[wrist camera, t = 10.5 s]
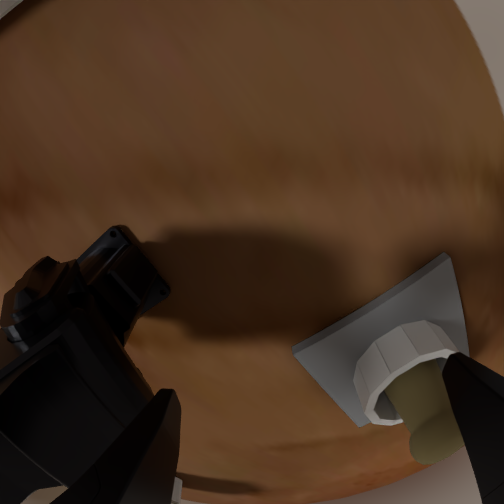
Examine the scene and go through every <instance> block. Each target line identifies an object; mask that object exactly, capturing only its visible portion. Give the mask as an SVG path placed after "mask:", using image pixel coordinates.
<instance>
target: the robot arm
mask: <svg viewBox="0 0 504 504" xmlns="http://www.w3.org/2000/svg"><path fill="white" fill-rule="evenodd" d="M112 231H115V232H116V236H114V235H113V233H112ZM161 289H164V290H165V291H166V292H162V291H161ZM170 291H171V290H170V287H169V286H168V285H167V283H166V282H165V281H164V280H163V279H162V278H161V277H160V276H159V274H158V273H157V270H156V269H155V268H154V266H153V265H152V264H151V263H150V262H149V261H148V259H147V258H146V257H145V256H144V255H143V254H142V252H141V251H140V250H139V249H138V248H137V246H136V245H133V244H132V243H131V241H130V240H129V239H128V238H127V237H126V235H125V234H124V233H123V232H122V230H121V229H120V228H119V227H118V226H112V227H110V228H109V229H108V230H107V231H106V232H105V233H104V234H103V235H102V236H101V237H100V238H98V239H97V240H96V241H95V242H94V243H93V244H92V245H91V246H90V247H89V248H88V249H87V250H86V251H85V252H84V253H83V254H82V255H81V256H80V257H79V258H78V259H77V260H76V259H74V260H71V261H68V262H64V263H60V262H59V261H58V262H57V261H55V260H54V259H52V258H50V257H49V256H46V257H44V258H41V259H40V260H39V261H38V262H36V263H35V264H34V265H33V266H32V267H31V268H29V269H28V270H27V271H26V272H25V274H24V275H23V277H22V278H21V279H20V280H18V281H17V282H16V283H15V286H14V287H13V288H12V289H11V290H9V291H8V292H7V293H6V294H5V295H4V299H3V305H2V311H1V318H0V326H1V328H0V504H21V503H22V502H24V501H25V499H27V498H28V497H29V496H30V495H31V494H32V493H33V492H35V491H37V490H38V489H43V488H50V487H57V486H63V485H64V486H65V487H67V488H68V489H67V490H66V491H65V492H64V493H62V494H61V495H60V496H59V497H57V498H56V499H55V500H54V501H52V502H51V503H50V504H171V500H172V494H173V488H174V481H175V475H176V469H177V463H178V457H179V447H180V425H181V405H180V402H179V400H178V397H177V395H176V392H175V390H174V389H160V390H159V391H158V392H157V393H156V395H155V396H154V394H153V392H152V390H151V388H150V386H149V384H148V383H147V382H146V380H145V379H144V377H143V375H142V373H141V372H140V370H139V369H138V368H137V367H136V366H135V364H134V363H133V361H132V360H131V358H130V357H129V355H128V354H127V352H126V351H125V349H124V346H125V344H126V342H127V340H128V338H129V336H130V334H131V332H132V330H133V328H134V326H135V324H136V322H137V320H138V318H139V316H140V315H141V314H143V313H144V312H146V311H147V310H149V309H150V308H152V307H153V306H155V305H156V304H158V303H159V302H161V301H162V300H164V299H165V298H167V297H168V296H169V294H170ZM442 378H443V381H444V384H445V388H446V391H447V394H448V398H449V401H450V405H451V408H452V411H453V414H454V417H455V419H456V422H457V425H458V427H459V430H460V433H461V435H462V438H463V441H464V444H465V447H466V449H467V452H468V455H469V458H470V461H471V464H472V468H473V471H474V474H475V478H476V481H477V484H478V488H479V492H480V496H481V499H482V504H504V377H503V376H501V375H499V374H498V373H496V372H494V371H493V370H491V369H489V368H487V367H486V366H484V365H482V364H480V363H479V362H477V361H475V360H474V359H472V358H470V357H468V356H467V355H465V354H463V353H461V352H456V353H453V354H450V355H449V357H448V359H447V361H446V363H445V366H444V368H443V370H442Z"/></svg>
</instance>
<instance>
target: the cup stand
mask: <svg viewBox="0 0 504 504" xmlns="http://www.w3.org/2000/svg"><path fill="white" fill-rule="evenodd" d="M292 352H293V355H294V357H295V358H296V359H297V360H298V361H299V362H300V363H301V364H302V366H303V367H304V368H305V369H306V370H307V371H308V372H309V373H310V375H311V376H312V377H313V378H314V379H315V380H316V381H317V382H318V383H319V385H320V386H321V387H322V388H323V389H324V390H325V391H326V392H327V393H328V394H329V396H330V397H331V398H332V399H333V400H334V401H335V402H336V403H337V404H338V405H339V406H340V407H341V409H342V410H343V411H344V412H345V413H346V414H347V415H348V416H349V417H350V418H351V419H352V420H353V421H354V422H355V424H356V425H357V426H358V427H359V428H360V427H362V426H364V425H366V424H368V423H370V422H372V423H373V424H381V425H394V424H398V423H402V422H403V420H402V419H401V417H400V415H399V414H398V412H397V411H396V409H395V407H394V406H393V404H392V403H391V401H390V400H389V398H388V396H387V395H386V393H385V392H384V389H385V388H386V387H387V386H388V385H389V384H390V383H391V382H392V381H393V380H394V379H395V378H396V377H397V376H399V375H400V374H402V373H404V372H405V371H407V370H409V369H410V368H412V367H414V366H415V365H417V364H418V363H420V362H424V361H428V360H431V359H436V361H437V364H438V366H439V368H440V371H441V373H442V370H443V368H444V366H445V363H446V361H447V359H448V357H449V355H450V354H453V353H456V352H461V353H463V354H465V355H467V356H468V357H470V356H469V348H468V340H467V333H466V327H465V321H464V315H463V310H462V305H461V300H460V295H459V290H458V286H457V282H456V277H455V273H454V269H453V265H452V262H451V258H450V256H448V255H447V254H446V253H445V252H443V253H442V254H440V255H439V256H437V257H436V258H435V259H433V260H432V261H431V262H429V263H428V264H426V265H425V266H424V267H422V268H421V269H419V270H418V271H416V272H415V273H414V274H412V275H411V276H409V277H408V278H406V279H405V280H403V281H402V282H400V283H399V284H397V285H396V286H394V287H393V288H391V289H390V290H388V291H387V292H385V293H383V294H382V295H380V296H379V297H377V298H376V299H374V300H372V301H371V302H369V303H368V304H366V305H364V306H363V307H361V308H359V309H358V310H356V311H355V312H353V313H351V314H350V315H348V316H346V317H344V318H343V319H341V320H339V321H338V322H336V323H334V324H332V325H331V326H329V327H327V328H325V329H324V330H322V331H320V332H318V333H316V334H315V335H313V336H311V337H309V338H307V339H305V340H304V341H302V342H300V343H298V344H296V345H294V346H292Z"/></svg>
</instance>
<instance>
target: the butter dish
mask: <svg viewBox="0 0 504 504" xmlns="http://www.w3.org/2000/svg"><path fill="white" fill-rule="evenodd" d="M22 1H23V0H0V19H1V18H2V17H4V16H5V15H6V14H7V13H8V12H9V11H11V10H12V9H13V8H14V7H16V6H17V5H18V4H19V3H21V2H22Z"/></svg>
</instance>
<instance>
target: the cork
mask: <svg viewBox="0 0 504 504" xmlns="http://www.w3.org/2000/svg"><path fill="white" fill-rule="evenodd" d="M384 392H385V393H386V395H387V396H388V398H389V400H390V401H391V403H392V404H393V406H394V407H395V409H396V411H397V412H398V414H399V415H400V417H401V419H402V420H403V422H404V423H405V425H406V427H407V428H408V430H409V431H410V433H411V437H410V441H409V444H410V452H411V454H412V456H413V458H414V459H415V460H416V461H417V462H419V463H421V464H423V465H425V464H433V463H436V462H439V461H441V460H443V459H445V458H447V457H449V456H450V455H452V454H453V453H455V452H456V451H458V450H459V449H460V448H461V447H462V446H463V445H464V441H463V438H462V435H461V433H460V430H459V427H458V425H457V422H456V419H455V417H454V414H453V411H452V408H451V405H450V401H449V398H448V394H447V391H446V388H445V384H444V381H443V378H442V373H441V371H440V368H439V366H438V364H437V361H436V359H431V360H428V361H424V362H420V363H418V364H417V365H415V366H414V367H412V368H410V369H409V370H407V371H405V372H404V373H402V374H400V375H399V376H397V377H396V378H395V379H394V380H393V381H392V382H391V383H390V384H389V385H388V386H387V387H386V388H385V389H384Z"/></svg>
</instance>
